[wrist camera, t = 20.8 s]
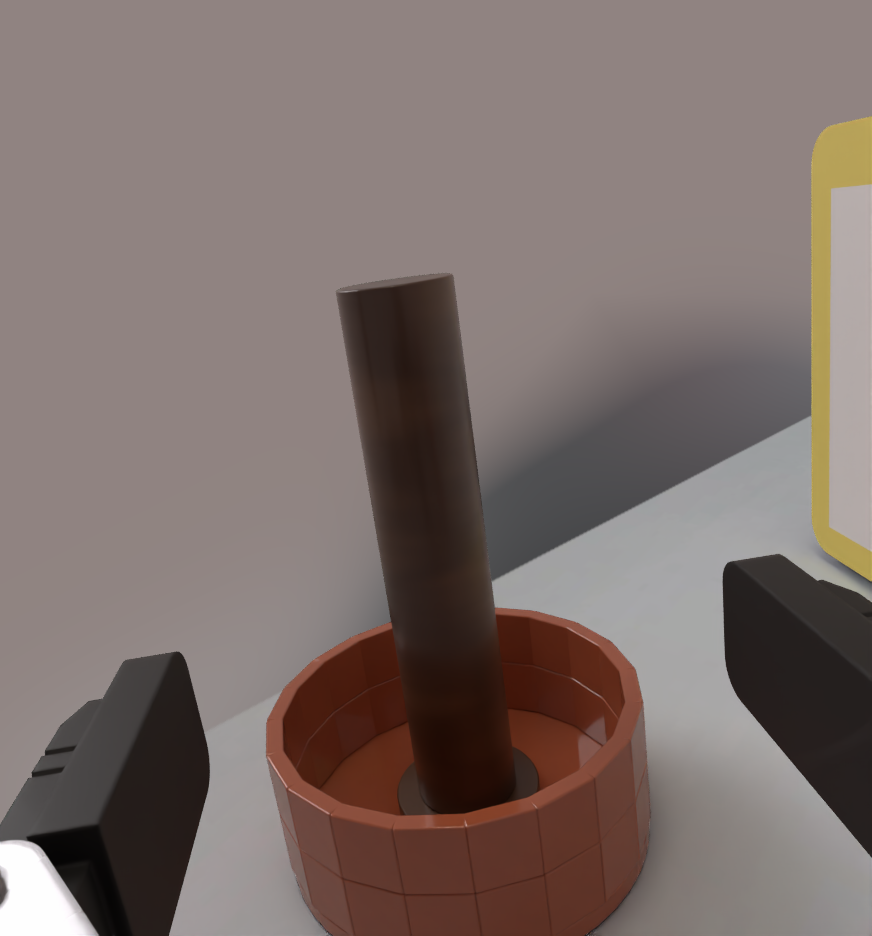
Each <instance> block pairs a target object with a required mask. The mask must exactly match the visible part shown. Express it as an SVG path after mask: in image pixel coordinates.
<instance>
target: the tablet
mask: <svg viewBox="0 0 872 936" xmlns="http://www.w3.org/2000/svg"><path fill="white" fill-rule="evenodd" d="M812 525H813V529H814V533H815V536H816V538H817V540H818V542H819V544H820V546H821V547H822V548H823V550H824V551H825V552H826V553H828V554H829V555H831V556H832V557H834V558H835V559H837V560H838V561H840V562H841V563H843V564H845V565H846V566H848V567H849V568H851V569H852V570H854V571H856V572H857V573H859V574H860V575H862V576H863V577H865V578H866V579H868V580H870V581H871V582H872V116H871V117H867V118H862V119H858V120H854V121H849V122H845V123H841V124H836V125H832V126H829V127H827V128H826V129H825V130H824V131H823V132H822V133H821V134H820V136H819V137H818V139H817V141H816V144H815V147H814V150H813V155H812Z"/></svg>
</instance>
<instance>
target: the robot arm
mask: <svg viewBox="0 0 872 936" xmlns="http://www.w3.org/2000/svg"><path fill="white" fill-rule="evenodd" d="M723 608H724V642H725V661H726V667H727V672H728V675H729V679H730V682H731V684H732V687H733V689H734V691H735V693H736V695H737V696H738V698H739V699H740V700H741V702H742V703H743V704H744V705H745V707H746V708H747V709H748V710H749V711H750V712H751V714H752V715H753V716H754V717H755V718H756V720H757V721H758V722H759V723H760V724H761V726H762V727H763V728H764V729H765V730H766V732H767V733H768V734H769V735H770V736H771V738H772V739H773V740H774V741H775V742H776V744H777V745H778V746H779V747H780V748H781V750H782V751H783V752H784V753H785V754H786V756H787V757H788V758H789V759H790V760H791V762H792V763H793V764H794V765H795V766H796V768H797V769H798V770H799V771H800V772H801V774H802V775H803V776H804V777H805V778H806V780H807V781H808V782H809V783H810V784H811V786H812V787H813V788H814V789H815V790H816V791H817V793H818V794H819V795H820V796H821V797H822V799H823V800H824V801H825V802H826V803H827V805H828V806H829V807H830V808H831V809H832V811H833V812H834V813H835V814H836V815H837V817H838V818H839V819H840V820H841V821H842V823H843V824H844V825H845V826H846V827H847V829H848V830H849V831H850V832H851V833H852V835H853V836H854V837H855V838H856V839H857V841H858V842H859V843H860V844H861V845H862V847H863V848H864V849H865V850H866V851H867V853H868V854H869V855H870V856H871V857H872V602H870V601H869V600H867V599H866V598H865V597H863V596H862V595H860V594H859V593H857V592H854V591H852V590H849V589H846V588H843V587H841V586H838V585H835V584H832V583H830V582H827V581H824V580H819V581H817V580H815V579H814V578H813V577H811V576H810V575H809V574H807V573H806V572H805V571H803V570H802V569H800V568H799V567H798V566H796V565H795V564H794V563H792V562H791V561H790V560H788V559H787V558H786V557H784V556H782V555H780V554H775V555H769V556H763V557H756V558H750V559H744V560H738V561H732V562H729V563H727V564H726V566H725V568H724V572H723ZM209 778H210V764H209V753H208V747H207V742H206V738H205V734H204V730H203V726H202V722H201V718H200V714H199V711H198V706H197V702H196V698H195V695H194V691H193V686H192V683H191V679H190V675H189V670H188V667H187V664H186V661H185V659H184V657H183V655H182V654H181V653H180V652H172V653H165V654H159V655H153V656H147V657H141V658H135V659H129V660H125V661H124V662H123V663H122V665H121V667H120V668H119V670H118V672H117V674H116V676H115V678H114V679H113V681H112V683H111V685H110V686H109V688H108V690H107V692H106V694H105V695H104V697H103V699H99V700H93V701H88V702H87V703H86V704H85V705H84V706H83V707H81V708H80V709H79V710H78V711H77V712H76V713H75V714H73V715H72V716H71V717H70V718H69V719H67V720H66V721H65V722H64V723H63V724H62V725H61V726H60V727H59V729H58V730H57V732H56V734H55V735H54V737H53V739H52V740H51V742H50V744H49V745H48V747H47V748H46V750H45V756H42V757H41V758H40V760H39V762H38V763H37V765H36V767H35V768H34V770H33V771H32V778H28V779H27V781H26V783H25V784H24V786H23V788H22V789H21V791H20V793H19V794H18V796H17V797H16V799H15V801H14V802H13V804H12V806H11V807H10V809H9V811H8V812H7V814H6V816H5V817H4V819H3V820H2V822H1V824H0V936H169V933H170V929H171V925H172V922H173V918H174V914H175V911H176V907H177V903H178V900H179V896H180V892H181V888H182V885H183V881H184V877H185V874H186V870H187V866H188V863H189V859H190V855H191V851H192V848H193V844H194V840H195V837H196V833H197V829H198V826H199V822H200V818H201V814H202V811H203V807H204V803H205V800H206V796H207V792H208V787H209Z"/></svg>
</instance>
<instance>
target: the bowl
mask: <svg viewBox="0 0 872 936" xmlns="http://www.w3.org/2000/svg"><path fill="white" fill-rule="evenodd" d="M495 614H496V622H497V630H498V638H499V646H500V654H501V662H502V670H503V678H504V686H505V694H506V702H507V710H508V718H509V726H510V734H511V742H512V746H513V747H515V748H517V749H519V750H521V751H522V752H523V753H524V754H526V755H527V756H528V757H529V758H530V759H531V761H532V762H533V764H534V765H535V767H536V769H537V771H538V775H539V781H540V791H538V792H536V793H535V794H533V795H531V796H529V797H526V798H522V799H518V800H515V801H511V802H507V803H503V804H499V805H495V806H491V807H487V808H484V809H480V810H476V811H472V812H468V813H464V814H433V815H400V810H399V804H398V798H397V790H398V785H399V782H400V779H401V777H402V775H403V774H404V772H405V770H406V769H407V768H408V767H409V766H410V765H411V764H412V763H413V762H414V755H413V749H412V743H411V737H410V731H409V725H408V720H407V714H406V708H405V702H404V696H403V690H402V684H401V678H400V672H399V666H398V660H397V654H396V648H395V642H394V636H393V630H392V624H391V622H389V623H387V624H384V625H381V626H379V627H376V628H374V629H371V630H368V631H366V632H363V633H360V634H358V635H355V636H353V637H351V638H349V639H347V640H346V641H344V642H342V643H340V644H339V645H337V646H336V647H334V648H332V649H330V650H329V651H327V652H325V653H324V654H322V655H320V656H319V657H317V658H316V659H314V660H313V661H312V662H310V664H308V665H307V666H306V667H305V668H304V669H303V670H302V671H301V672H300V673H299V674H298V675H297V676H296V677H295V678H294V679H293V680H292V681H291V682H290V683H289V684H287V685H286V686H285V688H284V689H283V691H282V693H281V694H280V696H279V698H278V700H277V702H276V704H275V706H274V708H273V710H272V712H271V713H270V715H269V717H268V719H267V723H266V758H267V762H268V767H269V771H270V775H271V780H272V784H273V788H274V793H275V797H276V801H277V806H278V810H279V814H280V819H281V823H282V827H283V832H284V836H285V840H286V845H287V849H288V854H289V858H290V862H291V866H292V869H293V871H294V873H295V875H296V879H297V883H298V885H299V888H300V891H301V894H302V896H303V899H304V901H305V902H306V904H307V906H308V907H309V909H310V911H311V912H312V914H313V915H314V917H315V918H316V919H317V920H318V921H319V922H320V923H321V925H322V926H323V927H324V928H325V929H326V930H327V931H328V932H329V933H330V934H331V935H333V936H585V935H586V934H588V933H589V932H590V931H592V930H593V929H595V928H596V927H597V926H599V925H600V924H601V923H602V922H603V921H604V920H605V919H606V918H607V917H608V916H609V915H610V914H611V913H612V912H613V911H615V910H616V908H617V907H618V906H619V904H620V903H621V902H622V901H623V899H624V898H625V897H626V896H627V894H628V893H629V892H630V890H631V888H632V886H633V885H634V883H635V881H636V879H637V877H638V876H639V874H640V872H641V869H642V866H643V863H644V860H645V857H646V854H647V849H648V843H649V836H650V829H649V822H650V818H651V809H650V795H649V780H648V765H647V750H646V736H645V721H644V706H643V699H642V695H641V690H640V686H639V682H638V677H637V673H636V670H635V668H634V667H633V666H632V664H631V663H630V662H629V661H628V660H627V659H626V658H625V656H624V655H623V654H622V653H621V652H620V651H619V650H618V649H617V647H616V646H615V645H614V644H613V643H612V642H611V641H610V640H608V639H606V638H604V637H602V636H601V635H599V634H597V633H595V632H593V631H592V630H590V629H588V628H586V627H584V626H582V625H581V624H579V623H576V622H574V621H570V620H567V619H563V618H559V617H556V616H552V615H548V614H544V613H541V612H537V611H531V610H519V609H507V608H495Z"/></svg>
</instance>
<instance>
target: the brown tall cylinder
mask: <svg viewBox="0 0 872 936" xmlns="http://www.w3.org/2000/svg"><path fill="white" fill-rule="evenodd" d="M336 295H337V301H338V306H339V313H340V319H341V325H342V330H343V337H344V343H345V349H346V355H347V361H348V367H349V372H350V378H351V385H352V391H353V397H354V402H355V409H356V415H357V420H358V427H359V433H360V438H361V444H362V450H363V456H364V462H365V468H366V474H367V480H368V486H369V492H370V498H371V504H372V510H373V516H374V521H375V528H376V534H377V540H378V546H379V552H380V558H381V563H382V569H383V576H384V582H385V588H386V594H387V600H388V606H389V611H390V618H391V624H392V630H393V636H394V642H395V648H396V654H397V660H398V666H399V672H400V678H401V684H402V690H403V696H404V702H405V708H406V714H407V720H408V725H409V731H410V737H411V743H412V749H413V755H414V762H413V763H412V764H411V765H410V766H409V767H408V768H407V769H406V770H405V772H404V774H403V775H402V777H401V779H400V782H399V785H398V790H397V798H398V804H399V810H400V815H433V814H464V813H468V812H472V811H476V810H480V809H484V808H487V807H491V806H495V805H499V804H503V803H507V802H511V801H515V800H518V799H522V798H526V797H529V796H531V795H533V794H535V793H536V792H538V791H540V781H539V775H538V771H537V769H536V767H535V765H534V764H533V762H532V761H531V759H530V758H529V757H528V756H527V755H526V754H524V753H523V752H522V751H521V750H519V749H517V748H515V747H513V746H512V742H511V734H510V726H509V718H508V710H507V702H506V694H505V686H504V678H503V670H502V662H501V654H500V646H499V638H498V630H497V622H496V614H495V606H494V598H493V590H492V582H491V574H490V566H489V558H488V550H487V542H486V534H485V526H484V518H483V510H482V502H481V493H480V485H479V478H478V469H477V461H476V454H475V445H474V438H473V430H472V421H471V413H470V407H469V399H468V398H469V397H468V389H467V383H466V382H467V381H466V374H465V365H464V357H463V350H462V341H461V334H460V327H459V318H458V310H457V301H456V294H455V286H454V277H453V275H452V274H450V273H441V274H429V275H419V276H411V277H404V278H396V279H389V280H382V281H376V282H370V283H364V284H359V285H353V286H348V287H345V288H340V289H338V290H337V291H336Z"/></svg>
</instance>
